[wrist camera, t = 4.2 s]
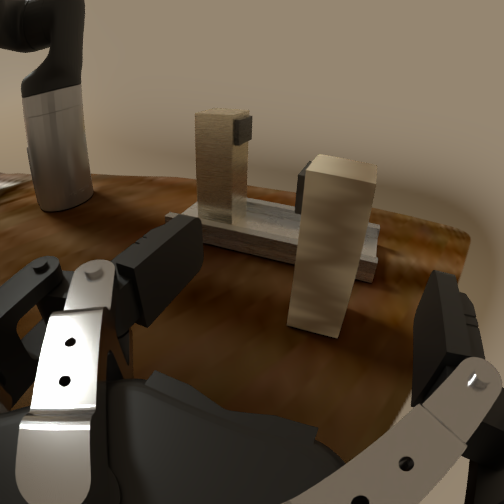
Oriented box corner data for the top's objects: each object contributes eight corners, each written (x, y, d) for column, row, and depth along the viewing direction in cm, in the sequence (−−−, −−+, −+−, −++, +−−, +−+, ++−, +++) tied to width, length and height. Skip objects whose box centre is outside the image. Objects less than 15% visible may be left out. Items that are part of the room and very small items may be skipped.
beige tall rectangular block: (280, 323, 24) (297, 168, 18) (294, 292, 27) (311, 152, 21) (337, 338, 23) (376, 183, 16) (345, 305, 26) (376, 165, 20)
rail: (166, 233, 35) (157, 115, 28) (201, 205, 41) (199, 105, 34) (371, 282, 29) (404, 145, 22) (375, 242, 35) (398, 130, 28)
